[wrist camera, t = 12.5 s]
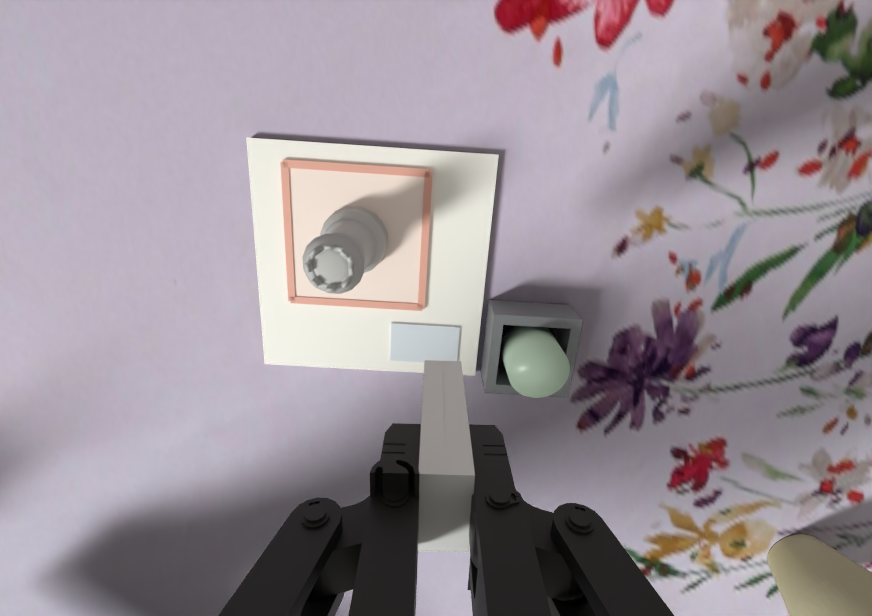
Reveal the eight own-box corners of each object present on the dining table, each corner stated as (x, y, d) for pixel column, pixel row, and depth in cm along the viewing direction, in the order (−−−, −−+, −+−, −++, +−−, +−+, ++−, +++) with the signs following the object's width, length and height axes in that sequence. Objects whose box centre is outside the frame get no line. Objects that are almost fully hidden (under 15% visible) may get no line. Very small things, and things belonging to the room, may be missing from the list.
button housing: (480, 372, 34) (484, 392, 31) (488, 299, 32) (494, 314, 29) (557, 376, 34) (568, 397, 31) (570, 304, 32) (583, 319, 29)
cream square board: (267, 360, 33) (263, 365, 33) (250, 137, 28) (244, 137, 27) (474, 372, 34) (475, 377, 33) (497, 154, 28) (499, 154, 27)
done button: (497, 371, 32) (504, 396, 29) (503, 320, 31) (511, 341, 27) (551, 374, 32) (564, 399, 29) (559, 324, 31) (574, 345, 28)
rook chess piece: (382, 276, 30) (365, 319, 23) (318, 262, 30) (279, 300, 22) (395, 213, 29) (381, 236, 21) (328, 197, 28) (290, 215, 21)
